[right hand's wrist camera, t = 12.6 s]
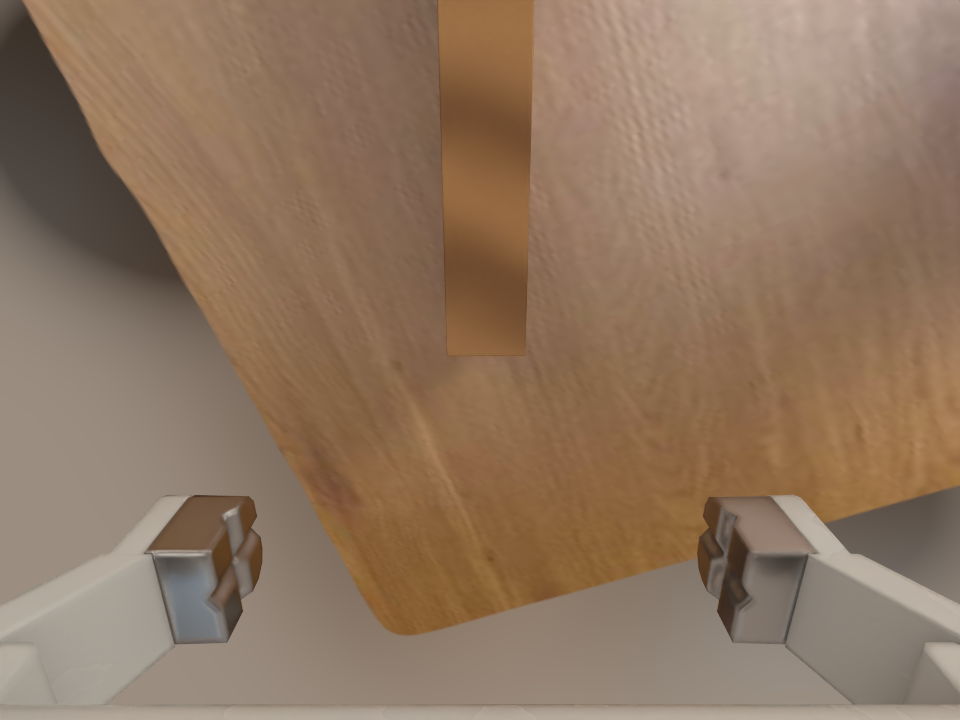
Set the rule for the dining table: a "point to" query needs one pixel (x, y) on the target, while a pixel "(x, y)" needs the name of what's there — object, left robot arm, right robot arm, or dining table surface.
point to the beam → (485, 171)
